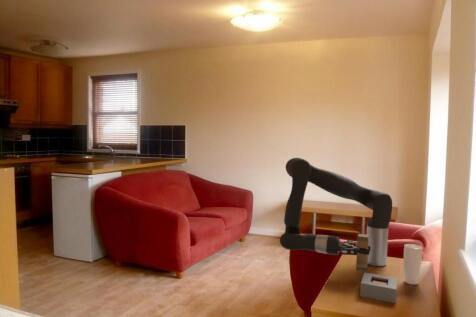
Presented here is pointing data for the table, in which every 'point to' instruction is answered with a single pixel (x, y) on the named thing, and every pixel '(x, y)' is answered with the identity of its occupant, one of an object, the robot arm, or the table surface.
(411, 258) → the drinking glass
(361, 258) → the tall brown pillar
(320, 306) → the table surface
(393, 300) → the box
